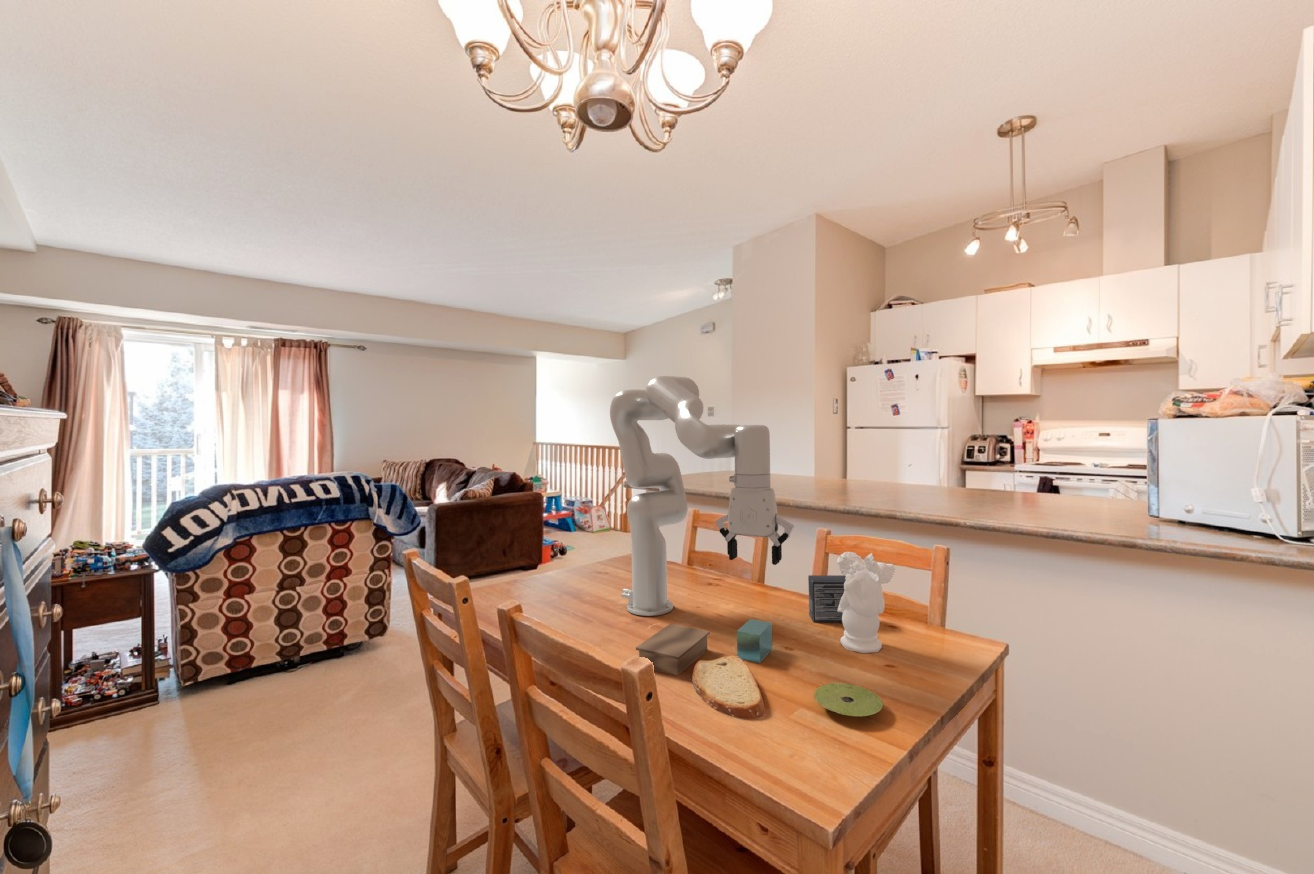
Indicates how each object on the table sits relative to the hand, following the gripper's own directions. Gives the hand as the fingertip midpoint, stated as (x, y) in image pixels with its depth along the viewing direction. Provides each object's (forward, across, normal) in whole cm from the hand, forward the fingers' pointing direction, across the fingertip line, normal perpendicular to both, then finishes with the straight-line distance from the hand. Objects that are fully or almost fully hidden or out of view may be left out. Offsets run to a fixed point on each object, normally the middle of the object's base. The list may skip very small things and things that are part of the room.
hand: (754, 560), depth 116 cm
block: (+20, 0, 0) cm, 20 cm away
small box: (+20, +10, +29) cm, 37 cm away
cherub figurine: (+21, +21, +16) cm, 33 cm away
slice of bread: (+21, +1, -17) cm, 27 cm away
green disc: (+21, +22, -14) cm, 33 cm away
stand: (+20, -15, -10) cm, 27 cm away
